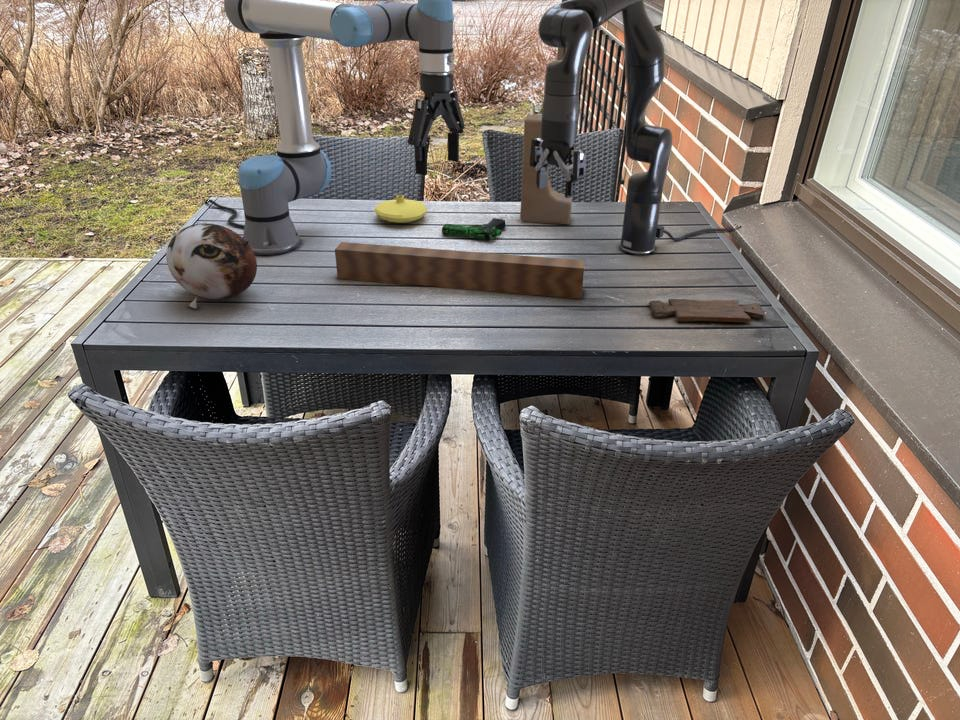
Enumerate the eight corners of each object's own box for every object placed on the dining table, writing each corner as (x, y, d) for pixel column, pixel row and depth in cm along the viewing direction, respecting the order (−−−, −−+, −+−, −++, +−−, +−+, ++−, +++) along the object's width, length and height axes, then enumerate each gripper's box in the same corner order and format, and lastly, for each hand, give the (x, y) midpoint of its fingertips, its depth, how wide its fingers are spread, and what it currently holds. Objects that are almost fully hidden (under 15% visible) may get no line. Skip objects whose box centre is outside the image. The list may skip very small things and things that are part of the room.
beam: (337, 278, 179) (334, 249, 175) (343, 270, 183) (341, 241, 179) (581, 298, 171) (584, 268, 167) (582, 290, 175) (585, 260, 171)
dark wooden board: (769, 325, 160) (756, 306, 169) (771, 319, 159) (757, 299, 168) (654, 321, 161) (647, 302, 169) (655, 314, 160) (648, 295, 168)
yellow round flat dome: (398, 206, 226) (397, 184, 222) (437, 217, 218) (437, 194, 214) (364, 220, 215) (362, 197, 211) (403, 231, 207) (402, 208, 203)
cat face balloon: (130, 285, 161) (164, 203, 163) (192, 308, 177) (221, 233, 178) (195, 307, 151) (229, 220, 152) (254, 330, 166) (285, 250, 168)
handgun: (511, 219, 210) (493, 234, 198) (511, 228, 211) (492, 244, 199) (461, 212, 215) (440, 226, 203) (461, 221, 217) (440, 236, 204)
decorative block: (569, 225, 214) (578, 121, 198) (519, 222, 215) (524, 119, 200) (570, 216, 220) (578, 116, 205) (522, 213, 222) (526, 113, 206)
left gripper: (418, 82, 148) (420, 183, 159) (479, 66, 167) (478, 158, 178) (389, 78, 151) (393, 177, 162) (452, 63, 170) (452, 153, 181)
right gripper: (598, 119, 145) (590, 197, 153) (548, 107, 154) (544, 181, 163) (572, 124, 141) (566, 204, 149) (523, 112, 150) (520, 187, 158)
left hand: (437, 167), depth 170 cm, fingers open, 13 cm apart
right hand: (555, 192), depth 156 cm, fingers open, 8 cm apart
